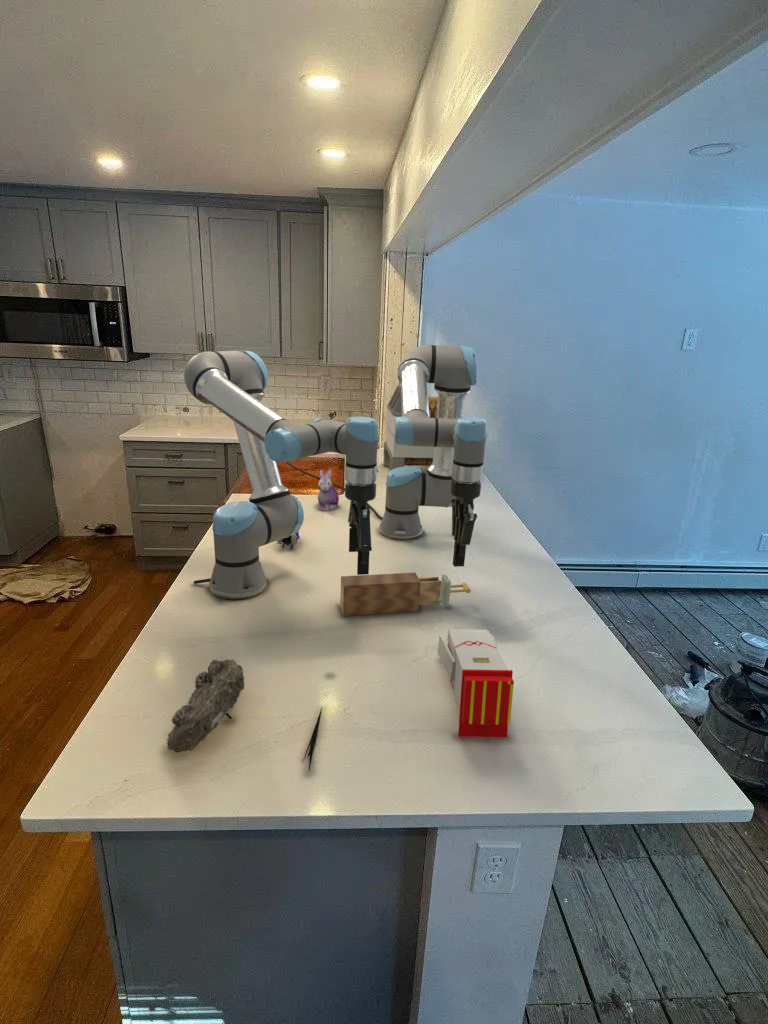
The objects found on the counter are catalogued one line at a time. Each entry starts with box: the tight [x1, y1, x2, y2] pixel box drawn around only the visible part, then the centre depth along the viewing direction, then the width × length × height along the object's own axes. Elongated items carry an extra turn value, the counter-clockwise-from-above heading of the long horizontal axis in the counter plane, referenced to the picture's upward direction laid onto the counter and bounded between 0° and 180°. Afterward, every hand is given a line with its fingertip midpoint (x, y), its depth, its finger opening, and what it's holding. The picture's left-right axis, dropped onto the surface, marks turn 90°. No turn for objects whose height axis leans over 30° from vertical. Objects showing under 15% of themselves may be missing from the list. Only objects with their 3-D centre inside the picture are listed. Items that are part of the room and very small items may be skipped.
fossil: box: [166, 658, 245, 754], centre depth 106 cm, size 22×10×15 cm
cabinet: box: [339, 572, 421, 617], centre depth 148 cm, size 20×5×9 cm, turn 102°
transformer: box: [383, 384, 438, 472], centre depth 268 cm, size 34×33×41 cm
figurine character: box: [276, 530, 301, 550], centre depth 187 cm, size 7×8×15 cm
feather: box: [301, 673, 332, 771], centre depth 108 cm, size 2×28×2 cm
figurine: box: [317, 468, 340, 511], centre depth 220 cm, size 9×10×15 cm
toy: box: [437, 628, 515, 738], centre depth 117 cm, size 12×13×30 cm
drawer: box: [418, 574, 472, 606], centre depth 151 cm, size 25×4×7 cm, turn 102°
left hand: (358, 562), depth 144 cm, fingers open, 13 cm apart
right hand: (458, 565), depth 150 cm, fingers closed
